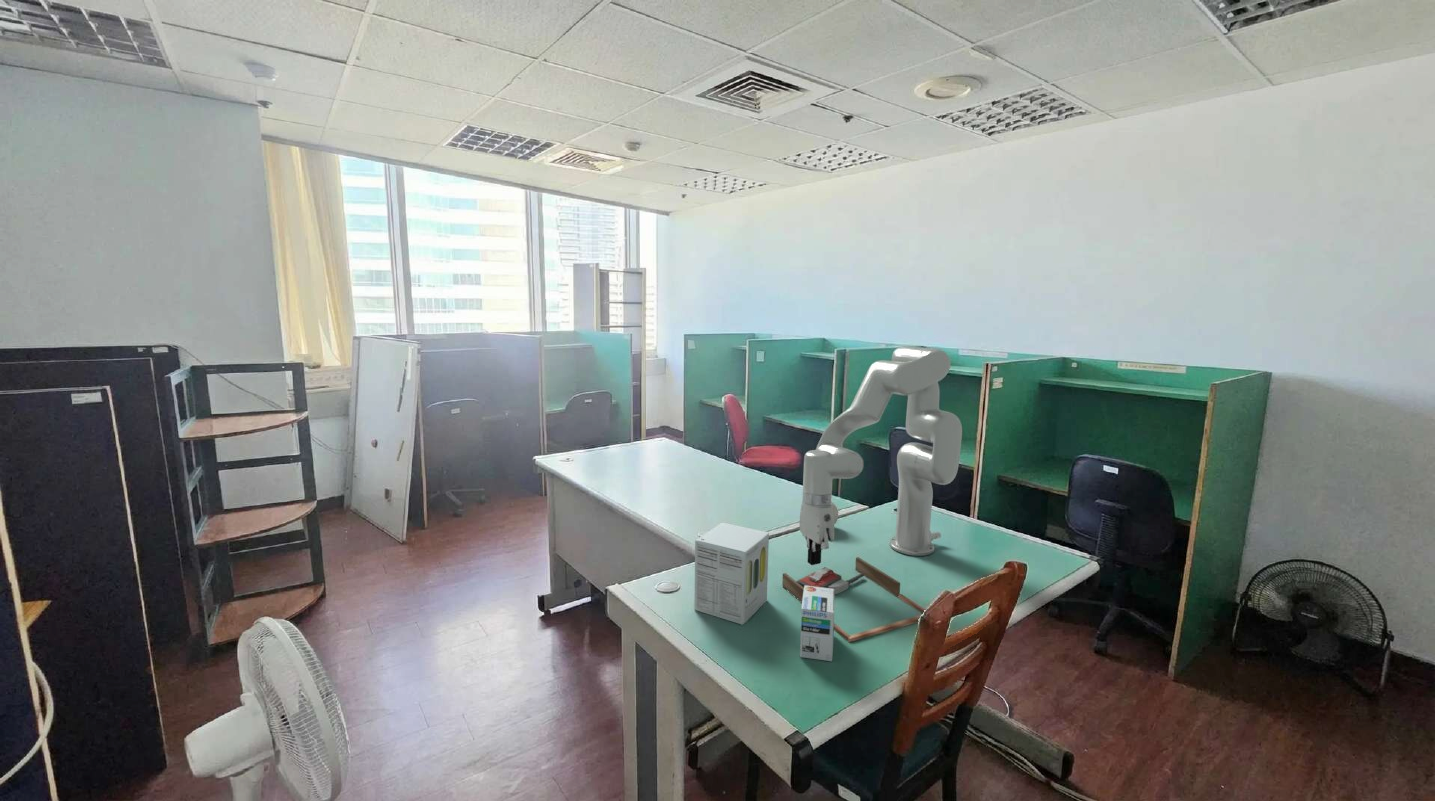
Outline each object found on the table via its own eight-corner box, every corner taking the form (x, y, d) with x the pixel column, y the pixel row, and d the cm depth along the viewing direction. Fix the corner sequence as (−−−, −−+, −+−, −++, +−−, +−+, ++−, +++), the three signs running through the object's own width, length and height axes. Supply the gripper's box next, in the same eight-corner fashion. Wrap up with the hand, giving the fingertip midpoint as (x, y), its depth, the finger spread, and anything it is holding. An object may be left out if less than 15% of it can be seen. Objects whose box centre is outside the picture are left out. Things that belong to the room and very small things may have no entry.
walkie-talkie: (818, 606, 139) (866, 580, 152) (819, 589, 138) (867, 565, 151) (790, 592, 145) (838, 569, 158) (790, 576, 144) (839, 554, 158)
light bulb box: (832, 662, 117) (835, 613, 115) (798, 658, 118) (800, 608, 116) (833, 633, 127) (835, 587, 125) (801, 629, 128) (803, 584, 126)
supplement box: (743, 626, 129) (745, 552, 126) (693, 610, 136) (693, 539, 133) (768, 600, 141) (770, 532, 138) (720, 587, 147) (721, 521, 144)
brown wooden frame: (857, 569, 158) (858, 557, 157) (933, 617, 134) (934, 603, 133) (782, 586, 148) (782, 573, 147) (849, 642, 124) (850, 627, 123)
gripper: (846, 504, 147) (842, 572, 150) (812, 487, 161) (810, 550, 164) (821, 508, 144) (818, 577, 147) (789, 490, 157) (787, 554, 160)
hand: (814, 562), depth 155 cm, fingers closed
